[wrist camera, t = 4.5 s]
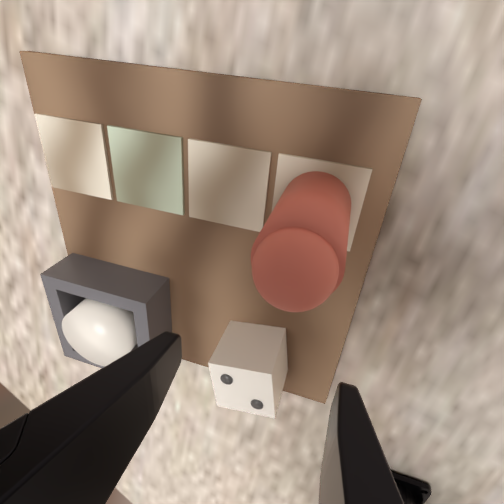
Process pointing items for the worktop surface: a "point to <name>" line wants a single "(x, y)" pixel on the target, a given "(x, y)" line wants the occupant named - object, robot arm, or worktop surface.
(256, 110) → the board
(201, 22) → the worktop surface
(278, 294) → the red cylinder
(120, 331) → the dome
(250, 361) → the die
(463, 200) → the worktop surface
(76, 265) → the frame
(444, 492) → the worktop surface
